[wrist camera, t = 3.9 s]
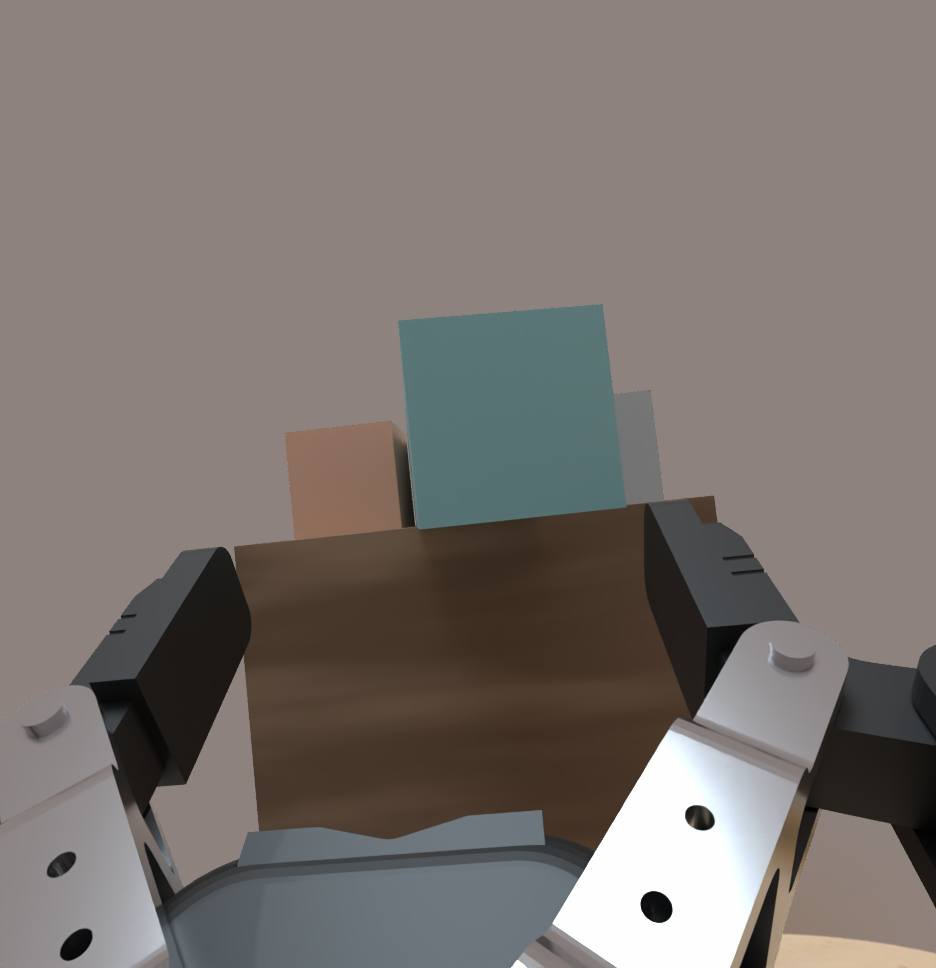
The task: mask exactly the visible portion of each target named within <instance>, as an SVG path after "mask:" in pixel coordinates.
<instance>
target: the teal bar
mask: <svg viewBox="0 0 936 968" xmlns="http://www.w3.org/2000/svg"><path fill="white" fill-rule="evenodd" d="M398 323H399V334H400V348H401V360H402V373H403V385H404V397H405V410H406V423H407V435H408V446H409V447H408V448H409V459H410V469H411V478H412V488H413V498H414V508H415V518H416V526H417V527H418V528H419V529H430V528H439V527H448V526H458V525H467V524H476V523H485V522H495V521H504V520H513V519H523V518H532V517H541V516H551V515H560V514H569V513H579V512H588V511H597V510H607V509H616V508H625V507H627V506H626V498H625V490H624V481H623V473H622V464H621V456H620V448H619V439H618V431H617V422H616V414H615V406H614V397H613V389H612V380H611V372H610V363H609V356H608V347H607V339H606V330H605V322H604V313H603V305H602V304H600V305H587V306H575V307H562V308H550V309H537V310H525V311H513V312H501V313H488V314H476V315H462V316H450V317H438V318H425V319H412V320H401V321H398Z"/></svg>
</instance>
